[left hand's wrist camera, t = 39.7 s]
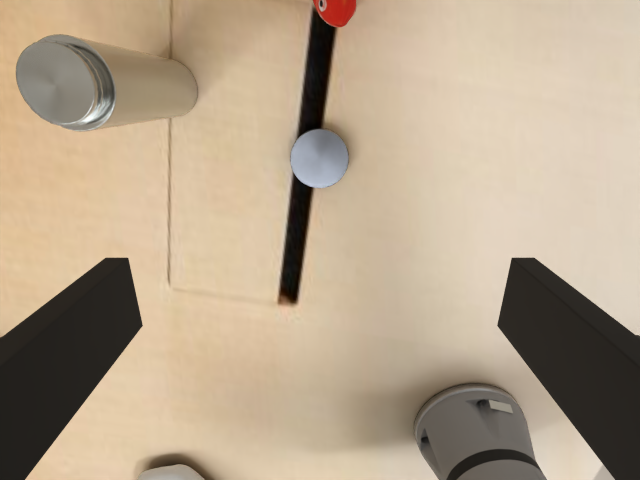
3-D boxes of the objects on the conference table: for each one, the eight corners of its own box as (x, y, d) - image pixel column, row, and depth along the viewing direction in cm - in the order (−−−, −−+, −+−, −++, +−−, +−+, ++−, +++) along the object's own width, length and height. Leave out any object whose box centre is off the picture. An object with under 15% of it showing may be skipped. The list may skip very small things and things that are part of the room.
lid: (320, 195, 40) (320, 199, 39) (279, 158, 39) (278, 160, 37) (359, 155, 39) (360, 158, 37) (318, 115, 37) (318, 116, 36)
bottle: (147, 51, 35) (4, 16, 19) (202, 68, 36) (107, 48, 20) (140, 107, 37) (6, 118, 21) (193, 123, 38) (100, 145, 22)
